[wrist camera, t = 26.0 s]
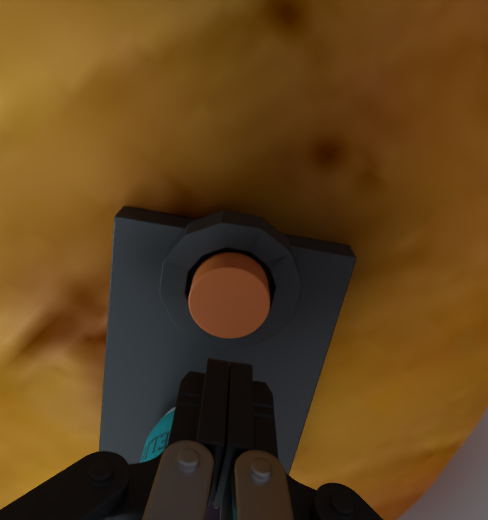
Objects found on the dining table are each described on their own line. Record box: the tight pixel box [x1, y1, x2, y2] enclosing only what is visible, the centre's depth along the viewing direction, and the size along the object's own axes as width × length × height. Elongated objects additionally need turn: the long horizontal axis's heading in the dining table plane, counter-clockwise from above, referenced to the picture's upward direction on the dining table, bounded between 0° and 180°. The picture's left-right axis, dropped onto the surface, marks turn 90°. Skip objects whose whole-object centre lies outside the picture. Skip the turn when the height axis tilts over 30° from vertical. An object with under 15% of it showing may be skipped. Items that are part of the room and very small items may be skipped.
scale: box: [99, 206, 356, 475], centre depth 24 cm, size 18×12×4 cm, turn 170°
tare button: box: [188, 252, 270, 338], centre depth 20 cm, size 4×4×2 cm
